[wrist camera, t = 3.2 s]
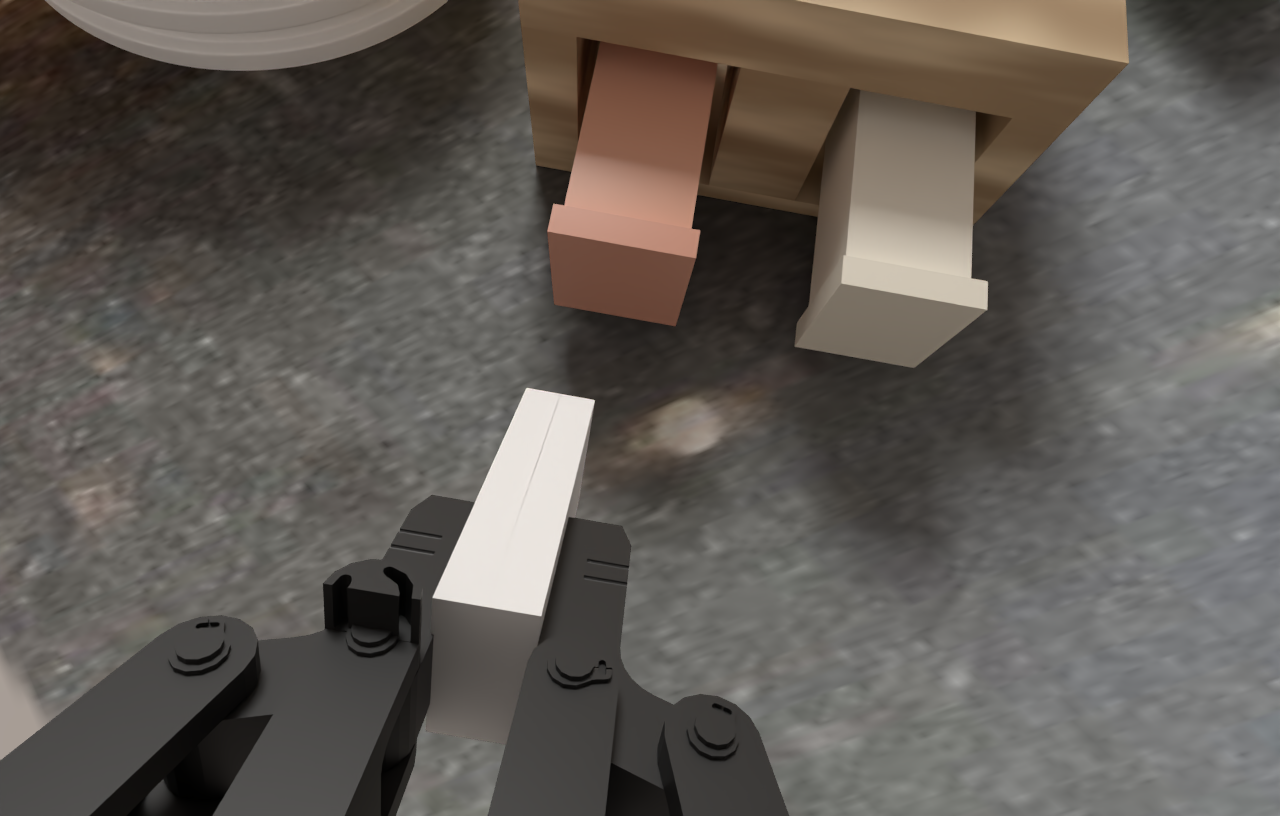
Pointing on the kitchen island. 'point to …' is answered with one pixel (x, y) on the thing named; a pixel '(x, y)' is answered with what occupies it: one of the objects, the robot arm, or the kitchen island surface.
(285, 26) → the plate stack
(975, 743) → the kitchen island surface
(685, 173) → the rust plug
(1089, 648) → the kitchen island surface
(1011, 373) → the kitchen island surface
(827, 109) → the wooden box
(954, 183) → the cream plug
